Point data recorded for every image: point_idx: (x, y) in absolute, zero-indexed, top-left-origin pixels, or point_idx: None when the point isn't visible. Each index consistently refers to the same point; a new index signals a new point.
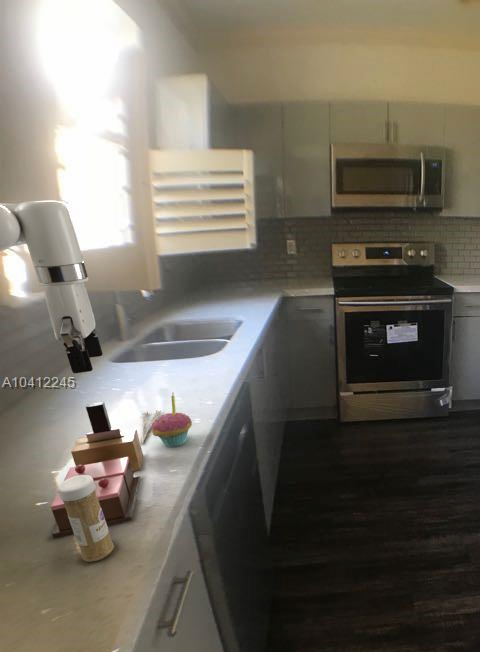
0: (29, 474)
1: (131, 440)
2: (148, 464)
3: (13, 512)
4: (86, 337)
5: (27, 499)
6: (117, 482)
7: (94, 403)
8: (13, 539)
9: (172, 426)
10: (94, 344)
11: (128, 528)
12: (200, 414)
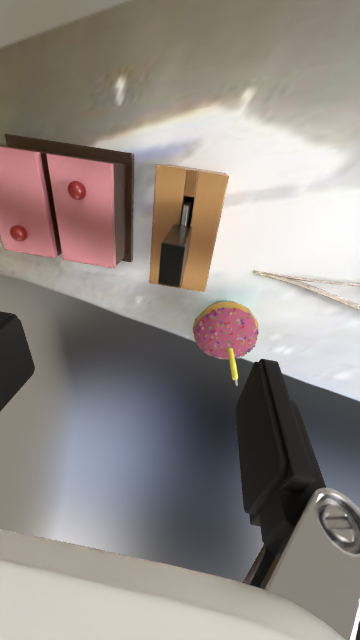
0: (276, 18)
1: (152, 281)
2: None
3: (105, 22)
4: (276, 507)
5: (148, 47)
6: (33, 249)
7: (178, 265)
8: (15, 53)
9: (197, 336)
10: (246, 460)
11: None
12: (304, 357)
